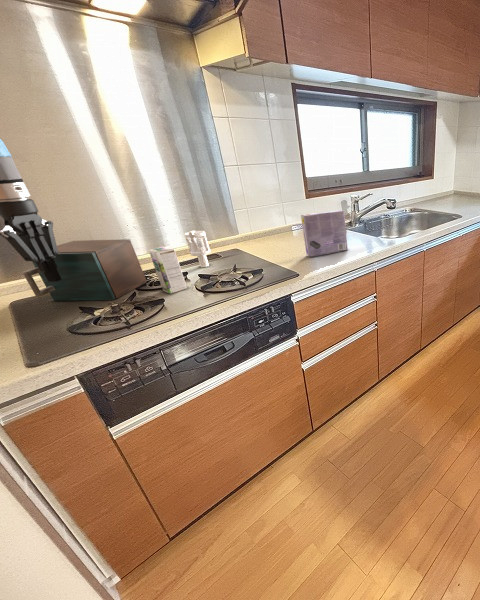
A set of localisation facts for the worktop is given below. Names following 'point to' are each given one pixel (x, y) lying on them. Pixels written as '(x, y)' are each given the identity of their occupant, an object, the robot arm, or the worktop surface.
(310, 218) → the purple printed carton
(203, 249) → the white slotted fitting
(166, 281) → the syrup box
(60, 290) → the cupboard door
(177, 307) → the worktop surface
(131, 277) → the cupboard
